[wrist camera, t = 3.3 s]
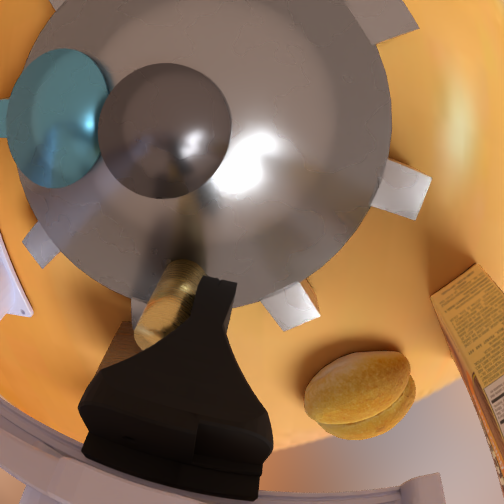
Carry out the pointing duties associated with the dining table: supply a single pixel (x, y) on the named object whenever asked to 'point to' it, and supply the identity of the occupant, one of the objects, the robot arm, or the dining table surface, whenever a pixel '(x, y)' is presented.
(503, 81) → the dining table surface
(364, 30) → the sprocket disc
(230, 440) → the robot arm
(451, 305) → the candy box
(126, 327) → the marked link block
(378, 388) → the bread roll
